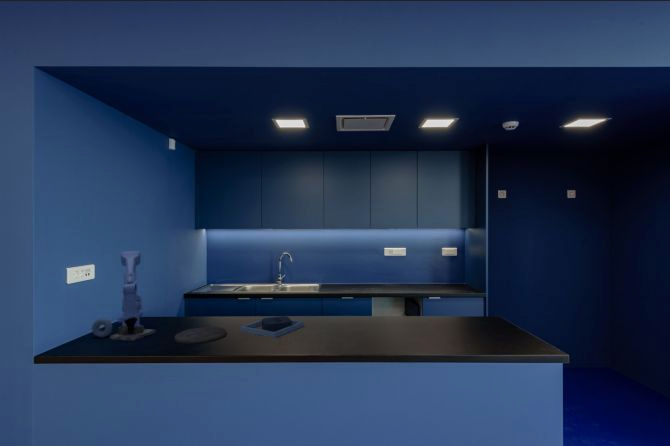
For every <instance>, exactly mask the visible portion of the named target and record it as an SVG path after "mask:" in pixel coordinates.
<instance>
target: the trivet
mask: <svg viewBox="0 0 670 446" xmlns="http://www.w3.org/2000/svg"><path fill="white" fill-rule="evenodd" d="M226 336H227V329H225V328H223V327H219V326H204V327H203V326H201V327H194V328H189V329H185V330H183V331H180V332H178V333H175V336H174V341H175V342H176V343H177V344H178V343H179V344H182V345H199V344H200V345H201V344H206V343H207V344H208V343H211V342H215V341H218V340H221V339H223V338H225V337H226Z"/></svg>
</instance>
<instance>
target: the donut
mask: <svg viewBox="0 0 670 446" xmlns="http://www.w3.org/2000/svg"><path fill="white" fill-rule="evenodd" d="M101 326H104V330H101V329H100V327H101ZM91 330H92V333H93V335H95V336H96V337H98V338H106V337H108V336H110V334H112V331H113V324H112V321H111V320H110V319H108V318H105V317H101V318H97V319H96V320H95V321H94V322H93V323H92V326H91Z"/></svg>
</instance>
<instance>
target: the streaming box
mask: <svg viewBox="0 0 670 446" xmlns="http://www.w3.org/2000/svg"><path fill="white" fill-rule="evenodd" d="M270 317H271V318H270ZM270 317H264V318H262V319H261V320H262V325H261V330H265V331H271V332H276V331H279V330H281V329H284V328H287V327H289V326H292V320H293V319H291V318H290V317H288V316H287V315H286V316H285V315H281V316H273V317H272V316H270Z"/></svg>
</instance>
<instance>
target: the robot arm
mask: <svg viewBox="0 0 670 446" xmlns="http://www.w3.org/2000/svg"><path fill="white" fill-rule="evenodd" d="M120 262H121V265H122V266H124V267H125V268H126V269H125V270H126V273H124V275H123V285H122V294H123V295H122V296H123V298H122V300H121V309H122V316H120V317H118V318H117V323H121V326H125V325H127V327H128V333H133V332H134V326H144V325H142V324H141V323H140V317H144V312H143V311H141V310H142V309H143V308H142V303H143V302H142V296H141V295H139V294H138V281H137V273H136V268H137V266H139V265H140V264H141V250H129V251H126V250H125V251H121V252H120Z"/></svg>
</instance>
